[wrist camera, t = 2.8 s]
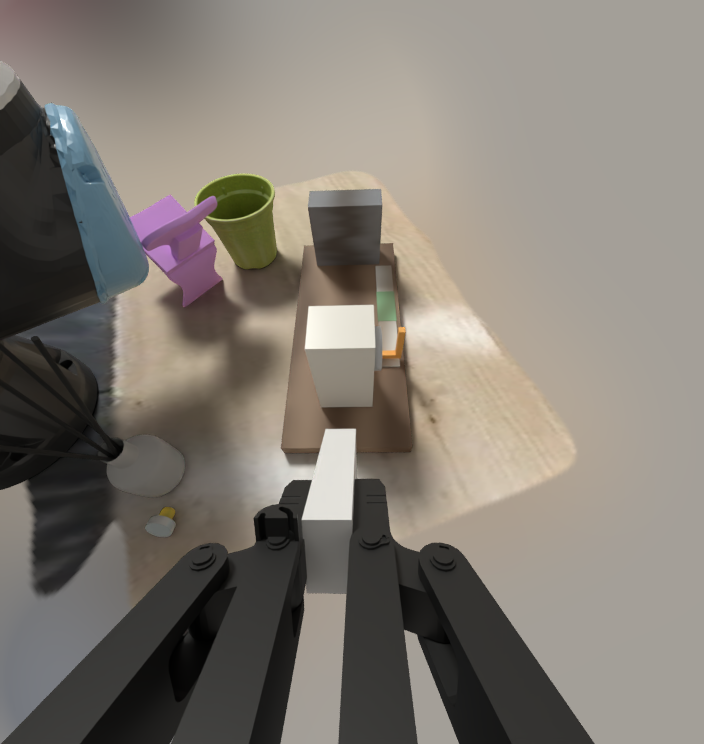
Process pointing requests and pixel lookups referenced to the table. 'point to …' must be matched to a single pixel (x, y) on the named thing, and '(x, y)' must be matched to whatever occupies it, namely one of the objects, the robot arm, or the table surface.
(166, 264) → the toy chair
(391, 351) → the orange l-shaped piece
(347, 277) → the gauge board
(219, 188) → the plant pot
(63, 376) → the reed diffuser
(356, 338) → the block
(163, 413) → the table surface
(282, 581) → the robot arm
